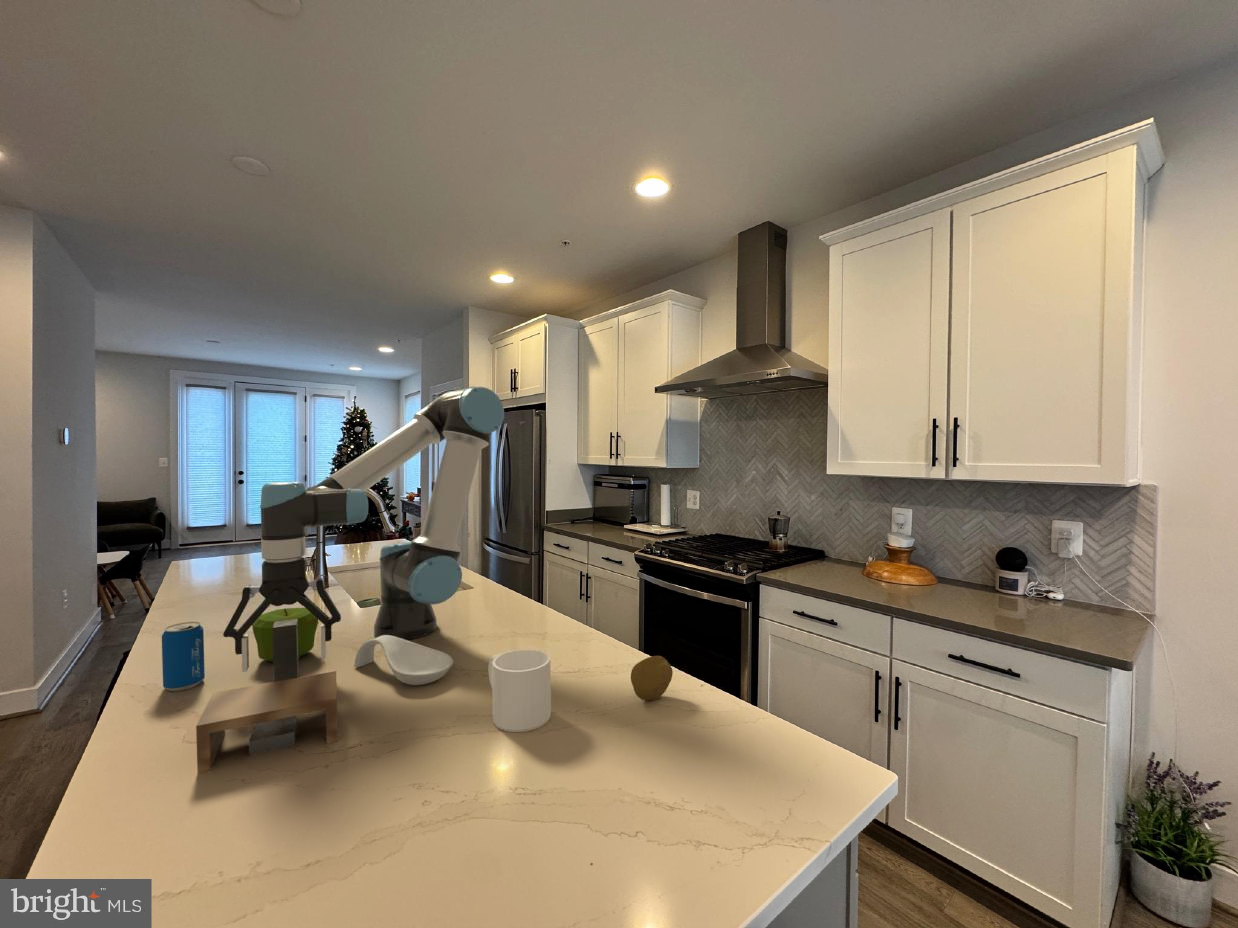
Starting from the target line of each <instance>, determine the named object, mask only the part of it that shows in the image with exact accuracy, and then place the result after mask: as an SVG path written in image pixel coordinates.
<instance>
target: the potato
mask: <svg viewBox="0 0 1238 928" xmlns="http://www.w3.org/2000/svg"><path fill="white" fill-rule="evenodd" d="M673 675H674V674H673V668H672V666H671V664H670V662H669V661H668V660H667V659H666V658H665V657H663V656H662V655H653V656H649V657H646V658H644V659H642V660H640V661H639V662H637V663H636V664H634V666H632V669H631V672H630V682H631V685H632V687H633V691H634V694H635V695H636V697H637V698H639V699H641V700H642V701H647V702H648V701H656V700H658V699H659V698H661V697H662V695H664V694H665V692H666V691H667V689H668V687H669V685H670V683H671V681H672V678H673Z"/></svg>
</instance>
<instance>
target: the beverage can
mask: <svg viewBox="0 0 1238 928" xmlns="http://www.w3.org/2000/svg"><path fill="white" fill-rule="evenodd" d="M204 634H205V633H204V627H203V626H202V625H201V622H200V621H185V622H180V623H179V622H178V623H173V624H171V625H169V626H166V627H165V628H164V632H163V633H162V635H161V664H162V687H163V688H164V689H167V690H169V691H172V692H178V691H184V690H188V689H192V688H193V687H197V685H199V684H200V683H201V682H202V681H203V680H204V679H205V673H206V672H205V645H204V644H205V643H204V642H205V637H204Z"/></svg>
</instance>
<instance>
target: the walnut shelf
mask: <svg viewBox="0 0 1238 928" xmlns="http://www.w3.org/2000/svg"><path fill="white" fill-rule="evenodd" d="M337 688H338V687H337V670H334V671H329V672H323V673H319V674H318V673H317V674H311V675H307V676H306V675H305V676H300V677H298V678H294V679H288V680H283V681H277V682H274V681H273V682H267V683H261V684H254V685H250V686H249V685H248V686H245V687H244V686H243V687H238V688H232V689H227V690H222V691H221V690H220V691H216V692H213V693H211V696H210V698H209V700H208V702H207V704H206V706H205V708H204V710H203V712H202V714H201V715H200V718H199V720H198V721H197V723H196V726H195V729H196V731H195V733H196V735H195V736H196V763H197V765H196V766H197V767H196V769H197V770H196V771H197V772H196V773H197V774H200V773H201V774H202V773H206V772H210V771H211V769H212V767H213V765H214V762H215V759H216V756H217V754H218V752H219V749H220V746H221V744H222V741H223V738H224V736H225V734H226V731H228V730H229V731H230V730H233V729H237V728H242V727H247V726H252V725H253V726H254V724H258V723H263V722H268V721H272V720H277V719H282V718H287V717H292V716H297V717H298V716H301V715H306V714H310V713H316V712H319V711H325V722H326V723H325V725H326V734H325V735H326V744H330V743H335V742H337V741H338V697H337V696H338V695H337V694H338V693H337V692H338V691H337Z"/></svg>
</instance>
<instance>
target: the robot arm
mask: <svg viewBox="0 0 1238 928" xmlns="http://www.w3.org/2000/svg"><path fill="white" fill-rule="evenodd" d="M504 409H505V408H504V405H503V403H502V401H501V399H500V397H499V396H498V394H496V392H495V391H493V390H491V389H490V388H487V387H485V386H469V387H467V388H462V389H456V390H449V391H447V392H444V393H443V394H442V395H440V396H439V397H437V398H435V399H434V400H433V401H432V402H430V403H429V404H427V405H426V406H425V407H423V408H422V409H421V410H419V411H417V412H416V413H414V414H413V419H412V421H410V422H408V423H407V424H405V425H404V426H402V427H401V428H400V429H398V430H396V431H395V432H393V433H391V434H390V435H389V436H388V437H386V438H384V439H383V440H382V441H380V442H378V443H377V444H376V445H374V446H372V447H371V448H370V449H368V450H367V451H365V452H364V453H362V454H361V455H359V456H358V457H356V458H355V459H353V460H352V461H350V462H349V463H347V464H346V465H344V466H343V467H341V468H340V469H338V470H337V471H336V472H334V473H333V474H331V475H330V476H329V477H326V478H325V479H324V480H322V481H321V482H319V483H317V484H316V485H311V486H309V487H306V488H305V484H304V483H303V482H301V481H277V482H268V483H264V485H262V487H261V494H260V495H261V496H260V505H259V507H260V523H261V525H260V528H261V541H260V542H261V543H260V545H261V559H263V560H264V561H263V562H262V563H261V584H260V585H256V586H255V585H251V584H246V585H244V588H243V589H242V593H241V600H240V601H239V604H238V605H237V607H236V609H235V611H234V613H233V614H232V617H231V619H230V620H229V622H228V623H227V625H226V628H225V630H224V631H223V633H222V635H223V637H225V638H233V639H234V648H235V649H234V653H235V655H236V656H238V655H241V667H242V669H241V672H242V673H248V669H249V667H250V660H249V658H250V654H249V653H250V652H249V651H250V649H249V634H246V633H247V632H248V631H249V629H250V628H251V627H252V625H253V623H254V622H255V621H256V620H257V619H258V618H259V617H260V615H262V614H264V612H265V611H266V610H267V609H268V608H269V607H270V606H271V605H272V606H274V607H281V606H283V605H285V606H287V605H289V606H291V605H294V604H295V603H299V604H300V606H302V607H303V608H306V609H307V610H308V611H309V612H311V613H312V614H313V615H314V616H315V617H316V618H317V619H318V622H320V623H321V624H320V653H321V654H320V656H321V657H320V659H321V660H326V654H327V653H326V652H327V651H326V649H327V648H326V645H327V644H326V643H327V642H331V641H332V633H333V632H332V631H333V630H332V627H333V625H334V624H336V623H339V622H341V621H342V614H341V613H340V611H339V609H338V608H337V606H336V604H335V603H334V601H333V600H332V598H331V596H330V594H329V593H328V591H327V590H326V589H325V583H324V579H323V577H318V578H317V579H313V580H309V581H308V579H307V573H306V572H307V571H306V570H307V569H306V568H307V567H306V564H307V563H306V562H307V560H306V558H305V557H304V556H305V555H306V528H313V527H320V526H325V527H326V526H335V525H338V526H339V525H351V524H357V523H362V522H364V521H365V520H366V519H367V517H368V513H369V498H368V495H367V494H366V491H367V490H368V489H370V488H371V487H373V486H374V485H376V483H378V482H380V481H381V480H382V479H384V478H385V477H387V476H388V475H389V474H391V473H392V472H394V471H395V470H396V469H398V468H399V467H401V466H402V465H403V464H405V463H406V462H407V461H409V460H411V459H412V458H413V457H415V456H416V455H417V454H419V453H420V452H422V451H423V450H425V449H426V448H428V446H430V445H432V444H434V445H438V444H439V443H441V442H442V441H445V440H446V442H445V446H444V449H443V454H442V457H441V460H440V464H439V468H438V471H437V474H436V477H435V482H434V485H433V488H432V489H433V490H432V493H431V495H430V500H429V503H428V507H427V511H426V513H425V518H424V522H423V525H422V528H421V532H420V535H419V536H417V537H416V538H413V540H411V541H407V542H406V541H405V542H397V543H391V544H386V545H383V546H382V547H381V549H380V556H379V562H380V564H379V565H380V567H379V568H380V572H379V573H380V606H379V610H378V613H377V616H376V619H375V622H374V624H373V625H374V626H373V634H374V637H375V638H377V637H379V636H382V635H390V636H395V637H398V638H401V639H404V640H411V639H416V638H420V637H423V636H427V635H428V634H431V633H433V632H434V631H435V630H436V629H437V625H438V624H437V623H438V622H437V616H436V613H435V611H434V607H433V605H438V604H442V603H445V602H446V601H448V600H449V599H450V598H452V597H453V596H454V595H455V594H456V593H457V591H458V590H459V588H460V586H461V583H462V579H463V571H462V568H461V566H460V564H459V559H460V556H461V548H460V547H459V545H458V544H457V542H458V537H459V533H460V529H461V527H462V521H463V518H464V514H465V511H466V508H467V504H468V499H469V495H470V491H471V489H472V483H473V480H474V477H475V473H476V470H477V465H478V463H479V462H478V461H479V459H480V454H481V451H482V449H484V448H486V447H488V446H489V444H490V440H491V437H492V433H494V432H496V431H497V430H498V429H499V428H500V427H501V426H502V424H503V422H504V419H505V410H504ZM309 588H312V590H313V591H314V592H315V591H317V595H318V596H319V598H320V600H321V601H322V602H323V604H324V606H325V608H326V609H327V611H328V612H329V614H330V616H329V615H327V613H326V612H324V611H323V610H322V609H321V608H320V607H319V606H318V605H316V604H315V602H313V601H312V600H311V599H310V598H309V597H308V596H307V595H306V594H305V592H306V591H307V590H308V589H309ZM257 593H260V594H261V596H262V597H263V598H264V599H263V601H261V603H260V604H259V605H258V607H256V609H255V610H254V611H253V613H251V614H250V615H249V617H248V618H247V619H246V620H245V622H243V624H242V625H240V627H239V628H237V629H236V626H237V623H239V620H240V619H241V616H242V614H243V613H244V611H245V609H246V607H247V605H248V604H249V602H250V600H251V598H254V597H255V596H256V594H257Z"/></svg>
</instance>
